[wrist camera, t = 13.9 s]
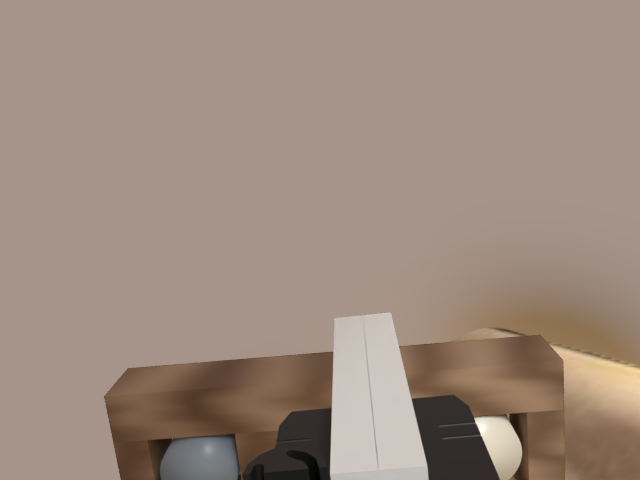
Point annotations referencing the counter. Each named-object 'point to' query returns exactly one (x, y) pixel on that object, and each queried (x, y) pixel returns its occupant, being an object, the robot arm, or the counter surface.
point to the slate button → (201, 458)
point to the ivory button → (500, 443)
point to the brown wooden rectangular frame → (316, 393)
